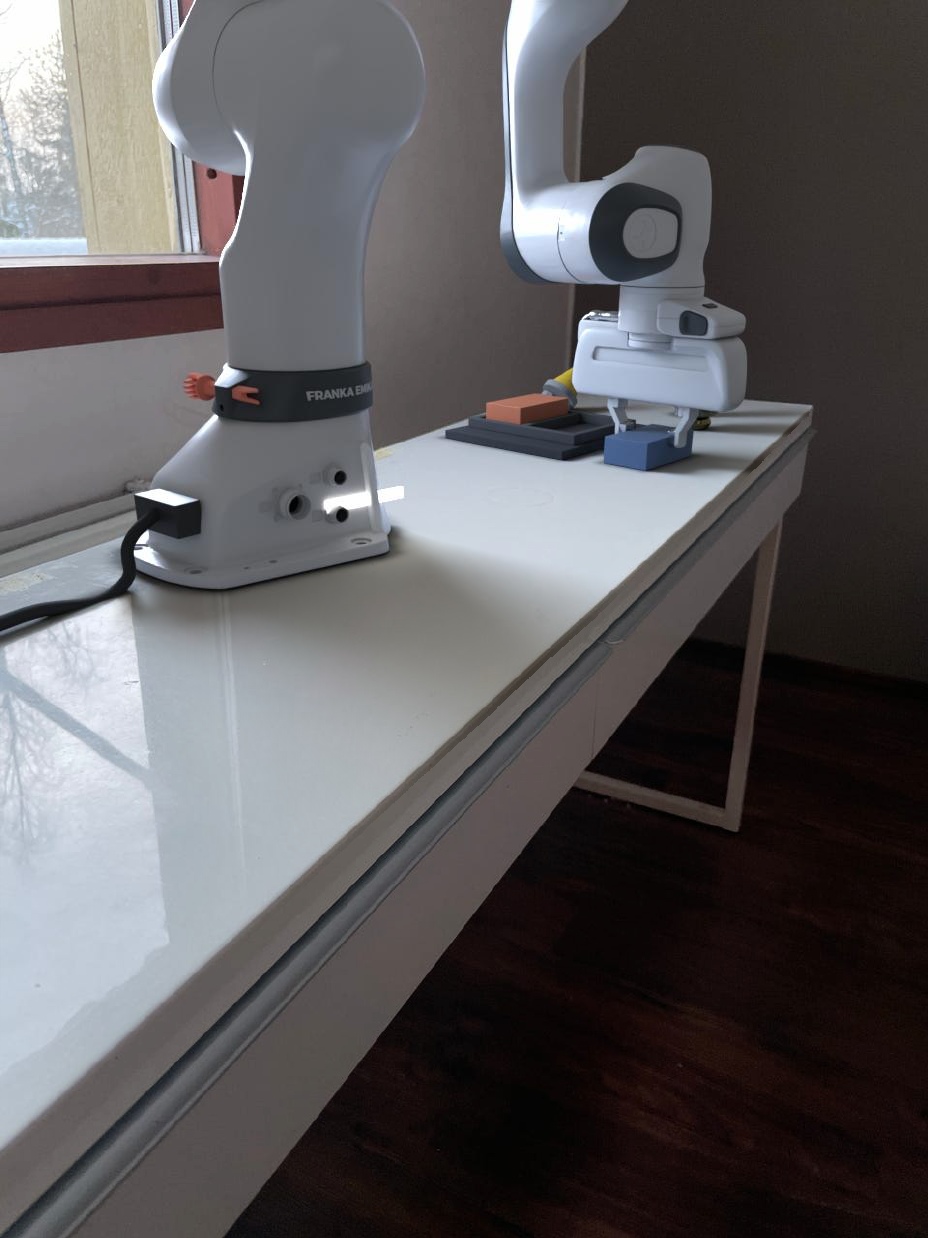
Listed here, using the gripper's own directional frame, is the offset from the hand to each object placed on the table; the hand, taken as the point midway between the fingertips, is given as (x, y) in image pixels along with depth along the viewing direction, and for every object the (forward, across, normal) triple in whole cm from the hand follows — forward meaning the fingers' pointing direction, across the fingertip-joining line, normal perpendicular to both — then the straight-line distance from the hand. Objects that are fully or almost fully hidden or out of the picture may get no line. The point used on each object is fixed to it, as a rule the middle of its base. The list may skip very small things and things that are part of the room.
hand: (649, 442), depth 107 cm
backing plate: (+2, -16, +3) cm, 16 cm away
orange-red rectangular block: (+1, -20, +3) cm, 20 cm away
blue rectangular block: (+2, 0, 0) cm, 2 cm away
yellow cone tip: (+2, -26, +19) cm, 32 cm away
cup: (+2, -5, +20) cm, 21 cm away
